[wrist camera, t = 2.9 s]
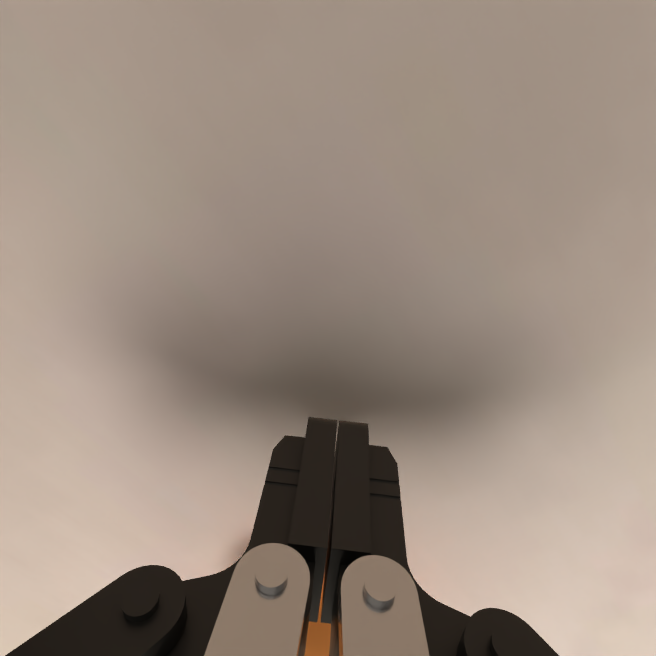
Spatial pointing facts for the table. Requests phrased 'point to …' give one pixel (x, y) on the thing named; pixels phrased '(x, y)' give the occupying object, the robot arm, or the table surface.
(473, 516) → the table surface
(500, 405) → the table surface
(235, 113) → the table surface
